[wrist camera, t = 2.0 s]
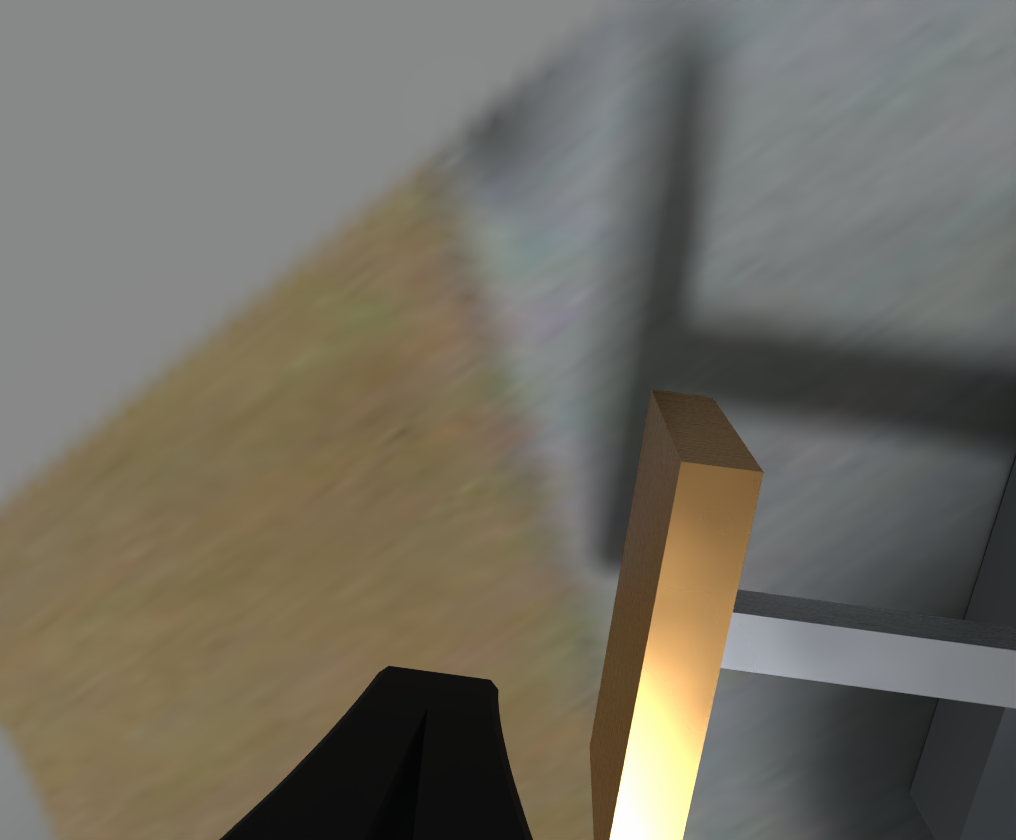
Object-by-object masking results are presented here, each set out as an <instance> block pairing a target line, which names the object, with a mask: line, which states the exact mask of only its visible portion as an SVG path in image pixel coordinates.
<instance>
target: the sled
mask: <svg viewBox="0 0 1016 840" xmlns="http://www.w3.org/2000/svg"><path fill="white" fill-rule="evenodd" d="M763 473H764V472H763V471H762V469H761V468H760V466H759V465H758V463H757V462H756V460H755V459H754V457H753V456H752V454H751V453H750V452H749V450H748V449H747V447H746V446H745V444H744V443H743V441H742V440H741V438H740V437H739V435H738V434H737V432H736V431H735V429H734V428H733V426H732V425H731V424H730V422H729V421H728V419H727V418H726V416H725V415H724V413H723V412H722V410H721V409H720V407H719V406H718V404H717V403H716V401H715V400H714V399H713V397H706V396H698V395H690V394H682V393H674V392H666V391H659V390H651V395H650V401H649V407H648V412H647V418H646V424H645V430H644V435H643V441H642V447H641V453H640V459H639V464H638V470H637V476H636V482H635V488H634V493H633V499H632V505H631V511H630V517H629V522H628V528H627V534H626V540H625V545H624V551H623V557H622V563H621V569H620V574H619V580H618V586H617V592H616V598H615V603H614V609H613V615H612V621H611V627H610V632H609V638H608V644H607V650H606V656H605V661H604V667H603V673H602V679H601V684H600V690H599V696H598V702H597V708H596V713H595V719H594V725H593V731H592V737H591V742H590V765H591V787H592V808H593V830H594V840H682V838H683V834H684V829H685V825H686V820H687V816H688V811H689V807H690V802H691V798H692V793H693V789H694V784H695V780H696V775H697V771H698V766H699V762H700V757H701V753H702V748H703V744H704V739H705V735H706V730H707V726H708V721H709V717H710V712H711V708H712V703H713V699H714V694H715V689H716V685H717V680H718V676H719V671H720V668H726V669H733V670H740V671H748V672H755V673H762V674H769V675H777V676H784V677H791V678H799V679H806V680H813V681H820V682H828V683H835V684H842V685H849V686H857V687H864V688H871V689H879V690H886V691H893V692H900V693H908V694H915V695H922V696H929V697H937V698H944V699H951V700H959V701H966V702H973V703H980V704H988V705H995V706H1002V707H1010V708H1016V627H1013V626H1006V625H998V624H991V623H983V622H976V621H968V620H961V619H954V618H946V617H939V616H931V615H924V614H916V613H909V612H902V611H894V610H887V609H879V608H872V607H864V606H857V605H850V604H842V603H835V602H827V601H820V600H812V599H805V598H797V597H790V596H783V595H775V594H768V593H760V592H753V591H745V590H738V586H739V581H740V577H741V572H742V568H743V563H744V559H745V554H746V550H747V545H748V541H749V536H750V532H751V527H752V523H753V518H754V514H755V509H756V505H757V500H758V496H759V491H760V487H761V482H762V478H763Z"/></svg>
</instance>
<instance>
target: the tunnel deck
mask: <svg viewBox="0 0 1016 840" xmlns="http://www.w3.org/2000/svg"><path fill="white" fill-rule="evenodd" d="M964 620H968V621H976V622H983V623H991V624H998V625H1006V626H1013V627H1016V459H1015V462H1014V465H1013V468H1012V471H1011V474H1010V477H1009V481H1008V484H1007V487H1006V490H1005V493H1004V496H1003V499H1002V503H1001V506H1000V509H999V512H998V515H997V518H996V522H995V525H994V528H993V531H992V534H991V537H990V540H989V544H988V547H987V550H986V553H985V556H984V559H983V562H982V566H981V569H980V572H979V575H978V578H977V581H976V585H975V588H974V591H973V594H972V597H971V600H970V603H969V607H968V610H967V613H966V616H965V619H964ZM909 794H910V796H911V798H912V800H913V802H914V803H915V805H916V807H917V809H918V810H919V812H920V814H921V816H922V818H923V819H924V821H925V823H926V825H927V827H928V828H929V830H930V832H931V834H932V835H933V837H934V839H935V840H1016V708H1010V707H1002V706H995V705H988V704H980V703H973V702H966V701H959V700H951V699H944V698H939V701H938V704H937V707H936V710H935V714H934V717H933V720H932V723H931V726H930V729H929V733H928V736H927V739H926V742H925V745H924V748H923V751H922V755H921V758H920V761H919V764H918V767H917V770H916V773H915V777H914V780H913V783H912V786H911V789H910V792H909Z"/></svg>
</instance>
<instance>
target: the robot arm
mask: <svg viewBox="0 0 1016 840" xmlns="http://www.w3.org/2000/svg"><path fill="white" fill-rule="evenodd" d="M219 840H533V838H532V836H531V833H530V830H529V827H528V824H527V821H526V818H525V815H524V811H523V808H522V805H521V802H520V799H519V795H518V792H517V789H516V786H515V783H514V779H513V776H512V772H511V768H510V764H509V760H508V756H507V752H506V747H505V743H504V738H503V733H502V728H501V722H500V715H499V704H498V689H497V687H496V686H495V685H494V684H493V682H492V681H491V680H488V679H481V678H473V677H466V676H459V675H452V674H444V673H437V672H430V671H422V670H415V669H408V668H400V667H393V666H388V667H386V668H385V669H383V670H382V671H380V672H379V673H378V674H377V675H376V677H375V678H374V679H373V681H372V682H371V683H370V685H369V686H368V687H367V688H366V690H365V691H364V692H363V693H362V695H361V696H360V697H359V698H358V699H357V701H356V702H355V703H354V704H353V705H352V707H351V708H350V709H349V710H348V711H347V712H346V714H345V715H344V716H343V717H342V718H341V719H340V720H339V722H338V723H337V724H336V725H335V726H334V727H333V728H332V729H331V731H330V732H329V733H328V734H327V735H326V736H325V737H324V738H323V739H322V740H321V741H320V742H319V743H318V745H317V746H316V747H315V748H314V749H313V750H312V751H311V752H310V753H309V754H308V755H307V756H306V757H305V758H304V759H303V760H302V761H301V762H300V763H299V764H298V765H297V766H296V767H295V769H294V770H293V771H292V772H291V773H290V774H289V775H288V776H287V777H286V778H285V779H284V780H283V781H282V782H281V783H280V784H279V785H278V786H277V787H276V788H275V789H274V790H272V791H271V792H270V793H269V794H268V795H267V796H266V797H265V798H264V799H263V800H262V801H261V802H260V803H259V804H257V805H256V806H255V807H254V808H253V809H252V810H251V811H250V812H249V813H248V814H247V815H246V816H245V817H243V818H242V819H241V820H240V821H239V822H238V823H237V824H236V825H235V826H234V827H233V828H232V829H231V830H229V831H228V832H227V833H226V834H225V835H224V836H223V837H222V838H221V839H219Z"/></svg>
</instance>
